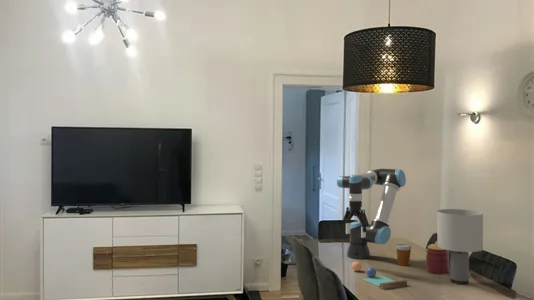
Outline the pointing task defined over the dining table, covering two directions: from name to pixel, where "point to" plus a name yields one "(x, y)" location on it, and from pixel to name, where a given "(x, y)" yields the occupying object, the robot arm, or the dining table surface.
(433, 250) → the canister
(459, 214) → the lamp
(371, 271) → the object ball
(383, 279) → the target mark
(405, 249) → the disposable coffee cup
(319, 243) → the dining table surface
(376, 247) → the dining table surface
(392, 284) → the wall
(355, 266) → the orange sphere
